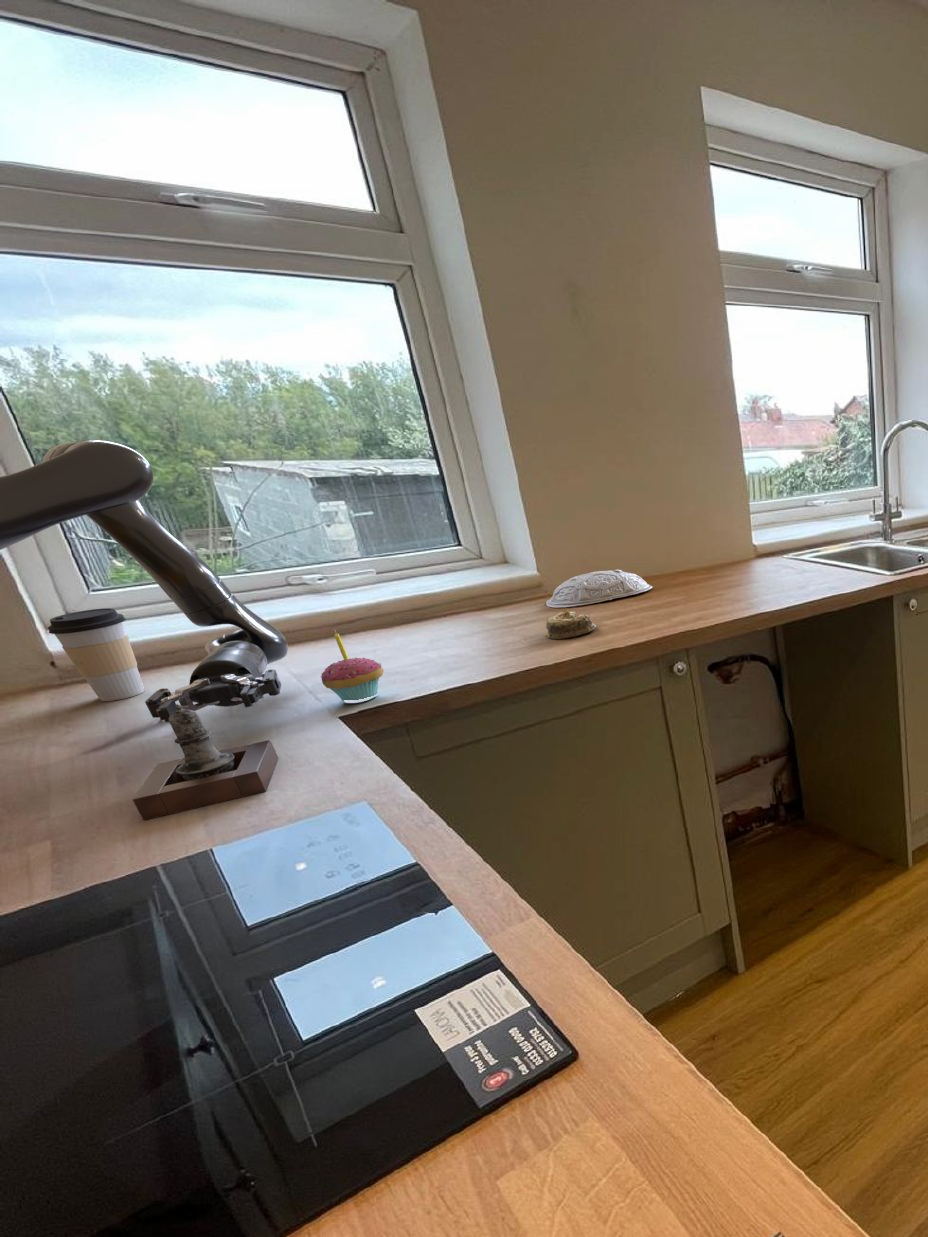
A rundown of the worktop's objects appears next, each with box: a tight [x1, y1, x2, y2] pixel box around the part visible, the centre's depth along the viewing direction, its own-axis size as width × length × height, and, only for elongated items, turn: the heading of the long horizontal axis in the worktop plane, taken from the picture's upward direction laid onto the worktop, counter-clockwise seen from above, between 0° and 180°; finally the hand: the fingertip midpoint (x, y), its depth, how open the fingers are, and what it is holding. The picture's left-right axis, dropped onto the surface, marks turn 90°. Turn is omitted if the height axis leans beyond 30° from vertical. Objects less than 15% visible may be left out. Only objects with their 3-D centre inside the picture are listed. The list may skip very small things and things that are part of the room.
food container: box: [545, 569, 654, 609], centre depth 189 cm, size 16×25×7 cm, turn 125°
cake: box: [545, 607, 597, 640], centre depth 161 cm, size 10×10×5 cm
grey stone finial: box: [168, 703, 235, 781], centre depth 100 cm, size 6×6×12 cm
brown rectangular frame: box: [132, 739, 279, 821], centre depth 102 cm, size 12×12×3 cm
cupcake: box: [320, 629, 385, 701], centre depth 128 cm, size 9×8×12 cm
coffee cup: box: [47, 607, 145, 702], centre depth 135 cm, size 9×9×15 cm
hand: (207, 708), depth 107 cm, fingers open, 8 cm apart
